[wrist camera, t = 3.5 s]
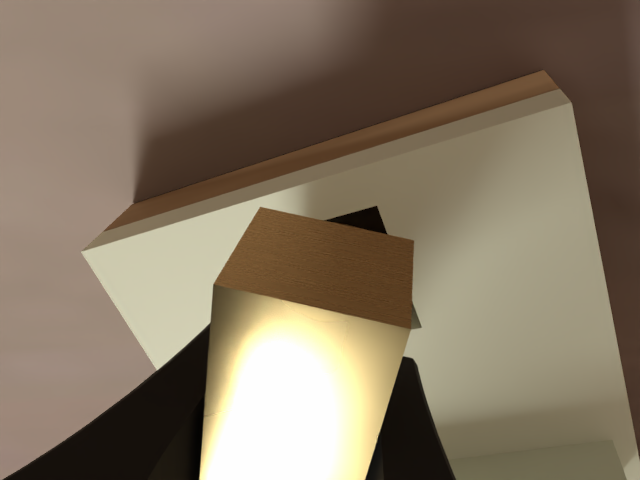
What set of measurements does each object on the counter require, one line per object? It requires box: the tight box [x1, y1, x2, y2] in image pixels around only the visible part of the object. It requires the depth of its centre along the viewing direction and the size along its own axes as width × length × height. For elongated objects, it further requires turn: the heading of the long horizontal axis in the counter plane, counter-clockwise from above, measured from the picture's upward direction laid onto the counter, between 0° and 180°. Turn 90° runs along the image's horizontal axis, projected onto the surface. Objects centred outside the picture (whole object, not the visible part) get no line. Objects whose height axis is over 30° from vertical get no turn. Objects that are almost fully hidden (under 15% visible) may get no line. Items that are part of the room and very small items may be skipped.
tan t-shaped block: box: [199, 207, 414, 480], centre depth 11 cm, size 2×7×7 cm, turn 171°
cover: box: [81, 89, 640, 480], centre depth 14 cm, size 14×11×3 cm
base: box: [103, 70, 559, 304], centre depth 16 cm, size 14×11×2 cm
